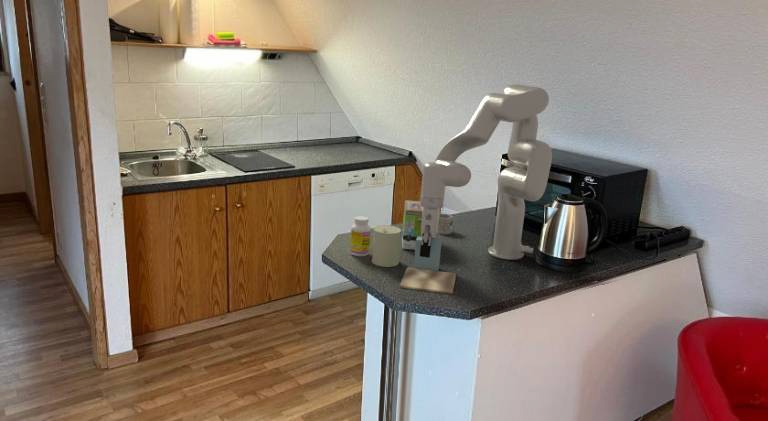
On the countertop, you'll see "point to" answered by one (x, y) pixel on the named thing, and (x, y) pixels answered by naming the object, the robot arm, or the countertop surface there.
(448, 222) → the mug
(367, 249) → the supplement bottle
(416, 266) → the slab
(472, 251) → the countertop surface
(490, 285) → the countertop surface
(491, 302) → the countertop surface
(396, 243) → the can
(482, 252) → the countertop surface
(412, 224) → the tea box
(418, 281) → the mat
